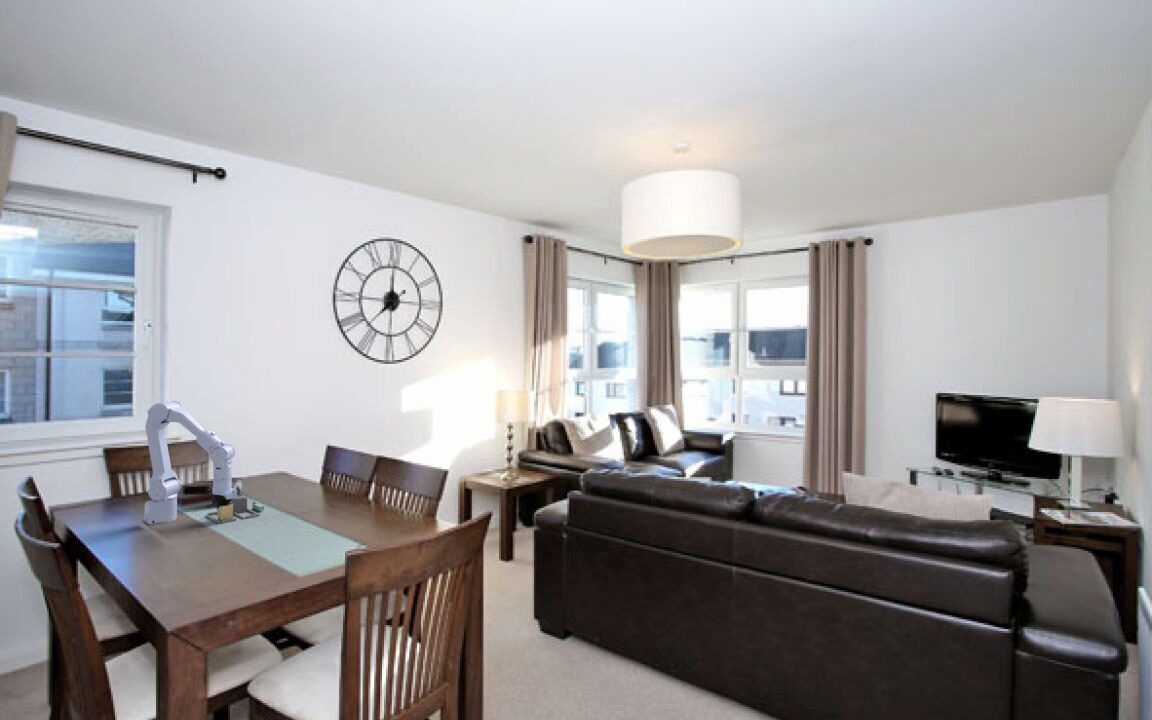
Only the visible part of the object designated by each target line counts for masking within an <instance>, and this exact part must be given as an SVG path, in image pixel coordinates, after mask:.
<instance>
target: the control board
mask: <svg viewBox="0 0 1152 720" xmlns="http://www.w3.org/2000/svg"><path fill="white" fill-rule="evenodd" d="M247 512H248V513H250V514H248V515H245V516H244V515H241V513H236V512H234V511H233V518H232V519H227V520H222V521H221V522H220V521H219V520H218V518H215V517H213V516H216V515H217V516H218V511H217V510H216V511H213V512H207V514H205V518H207V519H209V520H211V521H213V522H214V523H216V524H218V525H220V524H228V523H233V522H236V521H237V518H236V517H238V519H242V520H247V519H253V518H258V517H260V516H261V514H260V513H258V512H257V511H255V510H251V509H250V508H248V507H247ZM234 516H236V517H234Z"/></svg>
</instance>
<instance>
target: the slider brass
mask: <svg viewBox="0 0 1152 720" xmlns="http://www.w3.org/2000/svg"><path fill="white" fill-rule="evenodd" d="M233 517H234V515H233V505H232V504H227V505H221V506H219V507H218V514H217V520H219V521H220V522H221V521H222V520H227V519H232V518H233Z"/></svg>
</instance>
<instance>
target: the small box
mask: <svg viewBox="0 0 1152 720" xmlns="http://www.w3.org/2000/svg"><path fill="white" fill-rule="evenodd" d="M212 488H213V485H212ZM231 488H234V489H235V491H232V493H233V499H234V498H236V497H242V496H243V495H242V494H243V478H242V477H232V478H231ZM215 496H217V495H216V494H213V493H212V492H211V506H213V507H216V504H215V502H214V500H213V499H212V497H215ZM233 499H231V501H230V503H229V504H230V505H233Z"/></svg>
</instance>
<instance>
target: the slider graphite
mask: <svg viewBox="0 0 1152 720" xmlns="http://www.w3.org/2000/svg"><path fill="white" fill-rule="evenodd" d="M232 507H233V511H234V512H236V513H238V514H242V513H247V512H248V511H247V508H248V498H247V497H246V496H244V495H242V497H236V498H234V499H233V503H232Z"/></svg>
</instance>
